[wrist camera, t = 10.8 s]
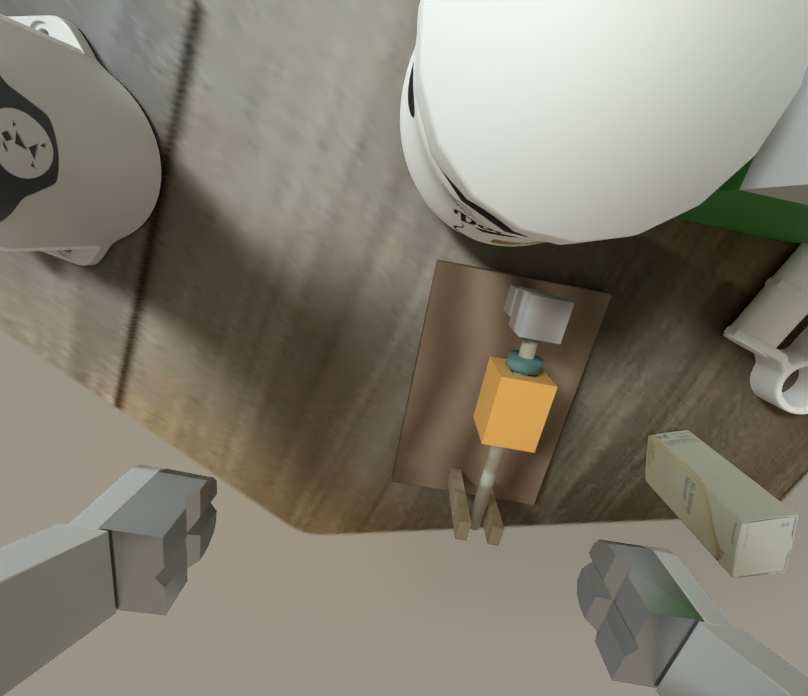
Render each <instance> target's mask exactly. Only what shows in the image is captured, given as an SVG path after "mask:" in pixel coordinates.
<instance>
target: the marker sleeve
mask: <svg viewBox="0 0 808 696" xmlns="http://www.w3.org/2000/svg"><path fill="white" fill-rule="evenodd" d="M505 362H506V359H502V358H496V357H491V356H490V358H489V362H488V365H487V369H486V372H485V376H484V380H483V383H482V387H481V390H480V394H479V398H478V401H477V405H476V408H475V412H474V416H473V417H474V421H475V424H476V427H477V430H478V433H479V437H480V440H481V443H482V444H486V445H492V446H497V447H503V448H509V449H515V450H521V451H527V452H533V453H535V450H536V447H537V444H538V441H539V439H540V436H541V433H542V430H543V427H544V424H545V422H546V419H547V416H548V413H549V410H550V407H551V405H552V402H553V399H554V396H555V393H556V390H557V385H556V384H555V383H554V382H553V381H552V380H551V378H550V377H549V376H548V375H547V374H546V373H545V371H544V370H543V369H541V372H540V374H539V375H528V376H525V375H519V374H514V373H513V371H514V370H512V369H510V368H509V367H507V366H506V364H505Z"/></svg>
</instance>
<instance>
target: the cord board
mask: <svg viewBox="0 0 808 696" xmlns="http://www.w3.org/2000/svg"><path fill="white" fill-rule="evenodd" d="M611 296H612V294H610V293H607V292H604V291H600V290H594V289H589V288H584V287H579V286H573V285H568V284H563V283H558V282H552V281H547V280H542V279H537V278H531V277H526V276H521V275H516V274H511V273H505V272H500V271H495V270H490V269H484V268H479V267H474V266H469V265H463V264H458V263H453V262H448V261H442V260H437V263H436V267H435V272H434V277H433V282H432V286H431V291H430V296H429V301H428V306H427V310H426V315H425V320H424V325H423V330H422V334H421V339H420V344H419V349H418V353H417V358H416V363H415V368H414V373H413V377H412V382H411V387H410V392H409V397H408V401H407V406H406V411H405V416H404V421H403V425H402V430H401V435H400V440H399V444H398V449H397V454H396V459H395V464H394V468H393V474H392V482H398V483H404V484H410V485H416V486H422V487H428V488H434V489H440V490H446V491H449V497H450V504H451V511H452V519H453V526H454V533H455V538H456V539H460V540H466V539H467V536H468V533H469V529H470V528H471V529H473V530H478V529H479V528H480V525H481V521H482V522H483V526H484V530H485V535H486V539H487V543H488V544H492V545H499V542H500V539H501V536H502V534H503V530H504V526H503V523H502V519H501V516H500V513H499V509H498V506H497V502H496V499H501V500H507V501H513V502H519V503H525V504H531V505H534V503H535V500H536V498H537V495H538V492H539V489H540V487H541V484H542V481H543V479H544V476H545V473H546V471H547V468H548V465H549V463H550V460H551V457H552V455H553V452H554V449H555V446H556V444H557V441H558V438H559V436H560V433H561V430H562V428H563V425H564V422H565V420H566V417H567V414H568V412H569V409H570V406H571V403H572V401H573V398H574V395H575V393H576V390H577V387H578V385H579V382H580V379H581V377H582V374H583V371H584V369H585V366H586V363H587V360H588V358H589V355H590V352H591V350H592V347H593V344H594V342H595V339H596V336H597V334H598V331H599V328H600V326H601V323H602V320H603V317H604V315H605V312H606V309H607V307H608V304H609V301H610V299H611ZM490 356H491V357H496V358H502V359H506V362H505V364H506V366H507V367H509V368H510V369H512V370H514V371H513V373H514V374H519V375H525V376H528V375H539V374H540V372H541V369H543V370H544V371H545V373H546V374H547V375H548V376H549V377H550V378H551V380H552V381H553V382H554V383H555V384H556V385H557V390H556V393H555V396H554V399H553V402H552V405H551V407H550V410H549V413H548V416H547V419H546V422H545V424H544V427H543V430H542V433H541V436H540V439H539V441H538V444H537V447H536V450H535V453H533V452H527V451H521V450H515V449H509V448H503V447H497V446H492V445H486V444H482V443H481V440H480V437H479V433H478V430H477V427H476V424H475V421H474V417H473V416H474V412H475V408H476V405H477V401H478V398H479V394H480V390H481V387H482V383H483V380H484V376H485V372H486V369H487V365H488V362H489V358H490ZM466 494H471V495H476V496H475V499H474V502H473V505H472V509H471V512H470V514H469V509H468V504H467V498H466Z"/></svg>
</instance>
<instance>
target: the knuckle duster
mask: <svg viewBox="0 0 808 696" xmlns="http://www.w3.org/2000/svg"><path fill="white" fill-rule="evenodd" d="M765 284H766V285H765V286H764V287H763V288H762V290H761V291H760V292H759V293H758V294H757V295H756V297H755V298H754V299H753V300H752V301H751V302H750V304H749V305H748V306H747V307H746V308H745V309H744V311H743V312H742V313H741V314H740V315H739V316H738V318H737V319H736V320H735V321H734V322H733V323H732V325H731V326H728V327H727V328H726V329H725V330H724V334H723V335H724V336H725V337H726V338H728V339H729V340H731V341H733V342H734V343H736V344H738V345H739V346H741V347H743V348H745V349H747V350H749V351H751V352H753V353H754V356H755V361H756V363H755V365H754V367H753V369H752V372H751V375H750V386H751V389H752V391H753V392H754V393H755V394H756V395H757V396H758V397H759V398H761V399H763V400H765V401H767V402H769V403H771V404H773V405H775V406H777V407H779V408H781V409H783V410H785V411H787V412H789V413H793V414H808V326H807V327H806V328H805V329H804V330H803V332H802V333H801V334H800V335H799V336H798V337H797V338H796V339H795V340H794V341H793V342H792V343H791V344H790V345H789V346H788V347H787V348H785V349H780V350H778V349H777V346H778V345H779V344H780V343H781V342H782V341H783V340H784V339H785V338H786V337H787V336H788V335H789V333H790V332H791V331H792V330H793V329H794V328H795V327H796V326H797V325H798V324H799V323H800V321H801V320H802V319H803V318H804V317H805V316H806V315H808V244H805V243H801V244H800V246H799V247H798V248H797V249H796V250H795V251H794V252H793V254H792V255H791V256H790V257H789V258H788V259H787V261H786V262H785V263H784V264H783V265H782V266H781V268H780V269H779V270H778V271H777V272H776V273H775V275H774V276H773V277H770V278H769V279H768V280H767V281H766V282H765ZM796 370H799V375H798V379H797V381H796V382H795V384H794V385H793V386H792V387H791V388H790V389H788V390H787V391H785V392H783V393H782V386H783V384H784V382H785V380H786V379H787V377H788V376H789V375H790V374H791V373H793V372H794V371H796Z"/></svg>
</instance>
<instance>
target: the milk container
mask: <svg viewBox="0 0 808 696" xmlns="http://www.w3.org/2000/svg"><path fill="white" fill-rule="evenodd" d="M807 66H808V0H421V1H420V5H419V9H418V23H417V40H416V46H415V49H414V52H413V54H412V57H411V59H410V63H409V66H408V69H407V72H406V77H405V81H404V85H403V91H402V97H401V107H400V131H401V141H402V147H403V152H404V156H405V161H406V164H407V167H408V170H409V173H410V175H411V178H412V180H413V182H414V184H415V186H416V188H417V190H418V192H419V193H420V195H421V197H422V198H423V200H424V201H425V202H426V204H427V205H428V206H429V208H430V209H431V210H432V211H433V212H434V213H435V214H436V215H437V216H438V217H439V218H440V219H441V220H442V221H443V222H444V223H446V224H447V225H448V226H450V227H451V228H453V229H454V230H456V231H457V232H459V233H461V234H463V235H465V236H467V237H469V238H472V239H474V240H477V241H480V242H483V243H487V244H492V245H497V246H527V245H534V244H539V243H543V242H549V243H553V244H558V245H564V244H575V243H582V242H590V241H598V240H606V239H614V238H621V237H629V236H634V235H637V234H640V233H642V232H644V231H646V230H649V229H651V228H653V227H655V226H657V225H659V224H661V223H663V222H665V221H667V220H669V219H671V218H673V217H676V216H678V215H680V214H682V213H684V212H686V211H688V210H690V209H692V208H694V207H696V206H698V205H700V204H701V203H702V202H703V201H705V200H706V199H707V198H708V197H709V196H710V195H711V194H712V193H714V192H715V191H716V190H717V189H718V188H719V187H720V186H721V185H722V184H724V183H725V182H726V181H727V180H728V179H729V178H730V177H731V176H733V175H734V174H735V173H736V172H737V171H738V170H739V169H740V168H741V167H743V166H744V165H745V164H746V163H747V162H748V161H749V160H750V159H752V158H753V157H754V156H755V155H756V153H757V152H758V150H759V149H760V147H761V146H762V144H763V143H764V141H765V140H766V138H767V137H768V135H769V134H770V132H771V131H772V129H773V128H774V126H775V124H776V123H777V121H778V120H779V118H780V117H781V115H782V114H783V112H784V111H785V109H786V108H787V106H788V105H789V103H790V102H791V100H792V99H793V97H794V96H795V94H796V93H797V91H798V90H799V88H800V87H801V84H802V81H803V78H804V75H805V72H806V69H807Z"/></svg>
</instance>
